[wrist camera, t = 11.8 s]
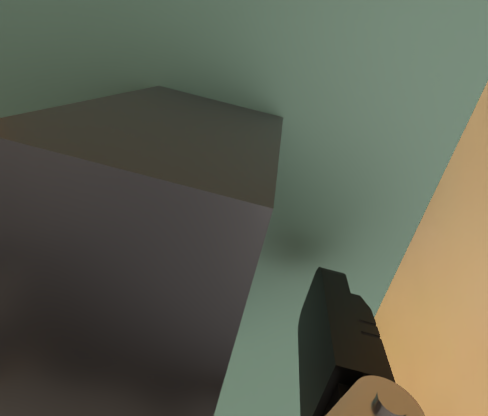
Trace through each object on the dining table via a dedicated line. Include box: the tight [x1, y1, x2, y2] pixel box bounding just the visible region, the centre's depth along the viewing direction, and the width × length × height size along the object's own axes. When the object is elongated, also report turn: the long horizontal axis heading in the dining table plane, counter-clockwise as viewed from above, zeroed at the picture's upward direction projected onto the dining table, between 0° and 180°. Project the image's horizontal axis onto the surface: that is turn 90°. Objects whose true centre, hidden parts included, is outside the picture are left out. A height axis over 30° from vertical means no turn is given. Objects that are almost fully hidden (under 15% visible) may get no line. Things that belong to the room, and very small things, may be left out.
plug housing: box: [0, 86, 283, 416], centre depth 10 cm, size 12×4×7 cm, turn 167°
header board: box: [0, 0, 488, 416], centre depth 11 cm, size 18×14×6 cm
